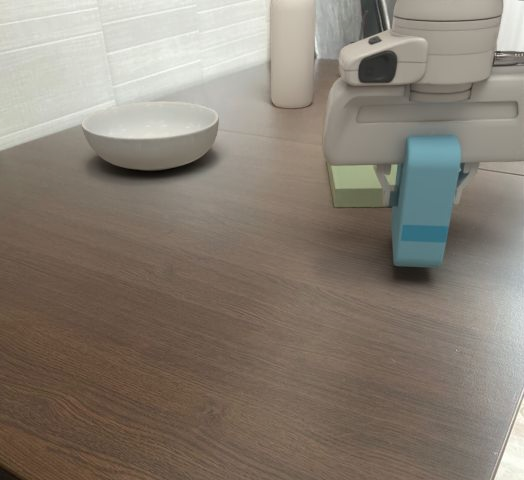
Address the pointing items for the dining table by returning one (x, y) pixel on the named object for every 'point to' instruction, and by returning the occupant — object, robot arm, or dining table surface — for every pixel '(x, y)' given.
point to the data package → (425, 200)
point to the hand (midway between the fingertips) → (419, 204)
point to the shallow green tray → (357, 185)
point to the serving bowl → (151, 134)
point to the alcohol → (292, 52)
